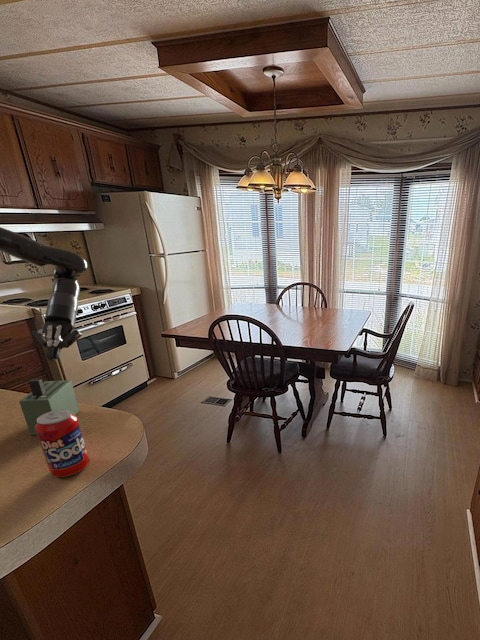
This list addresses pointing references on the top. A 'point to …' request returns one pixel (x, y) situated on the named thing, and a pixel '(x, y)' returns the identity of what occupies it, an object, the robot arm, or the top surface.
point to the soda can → (62, 442)
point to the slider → (37, 387)
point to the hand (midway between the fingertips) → (52, 359)
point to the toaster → (49, 402)
